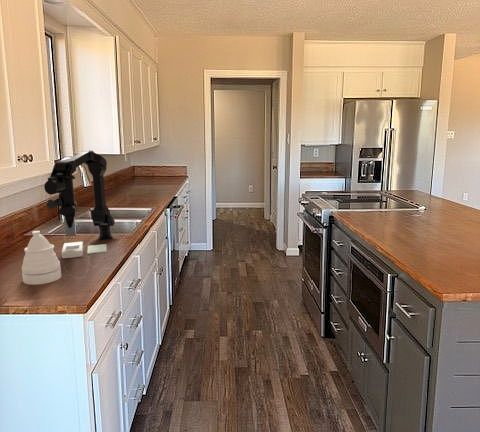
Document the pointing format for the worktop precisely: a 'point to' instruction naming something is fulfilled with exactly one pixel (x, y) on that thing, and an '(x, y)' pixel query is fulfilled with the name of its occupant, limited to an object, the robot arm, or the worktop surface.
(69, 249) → the cream window plate
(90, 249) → the green pad
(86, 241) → the worktop surface
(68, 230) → the grey rectangular block
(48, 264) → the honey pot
